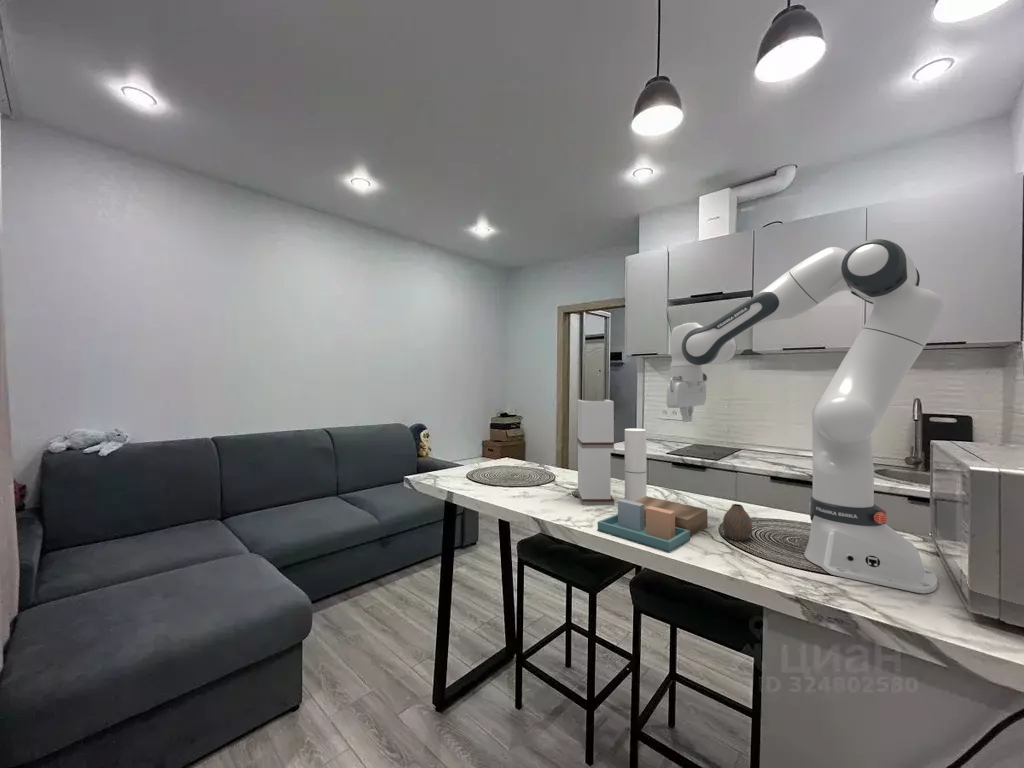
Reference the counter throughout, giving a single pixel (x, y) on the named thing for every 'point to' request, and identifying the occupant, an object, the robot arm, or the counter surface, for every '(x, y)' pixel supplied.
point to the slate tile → (631, 514)
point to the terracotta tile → (660, 522)
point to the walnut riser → (680, 513)
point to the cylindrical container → (635, 464)
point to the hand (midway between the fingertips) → (687, 421)
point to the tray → (643, 535)
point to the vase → (737, 523)
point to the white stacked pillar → (595, 451)
